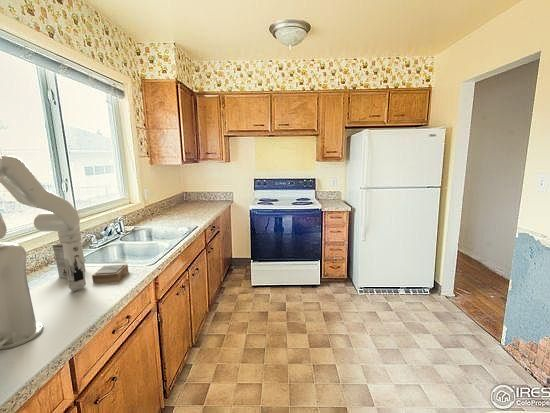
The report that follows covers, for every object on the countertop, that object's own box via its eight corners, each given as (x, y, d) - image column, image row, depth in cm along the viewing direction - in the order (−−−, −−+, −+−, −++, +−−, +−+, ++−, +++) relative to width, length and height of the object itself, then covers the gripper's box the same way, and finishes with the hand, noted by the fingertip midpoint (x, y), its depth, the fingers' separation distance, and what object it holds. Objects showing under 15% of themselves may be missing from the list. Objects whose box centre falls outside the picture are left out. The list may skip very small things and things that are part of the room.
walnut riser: (118, 282, 127) (117, 273, 126) (93, 283, 126) (91, 274, 125) (128, 271, 138) (127, 263, 137) (105, 273, 136) (103, 265, 136)
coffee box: (75, 269, 142) (70, 239, 139) (85, 270, 141) (80, 240, 138) (58, 277, 133) (52, 245, 130) (69, 278, 132) (63, 246, 129)
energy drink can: (65, 290, 118) (60, 257, 115) (78, 284, 124) (73, 252, 121) (77, 291, 116) (72, 257, 114) (89, 285, 122) (84, 252, 120)
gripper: (87, 239, 114) (93, 280, 117) (74, 233, 124) (79, 270, 127) (65, 243, 108) (72, 286, 111) (53, 236, 119) (59, 276, 122)
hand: (76, 277), depth 119 cm, fingers closed on energy drink can, 6 cm apart
